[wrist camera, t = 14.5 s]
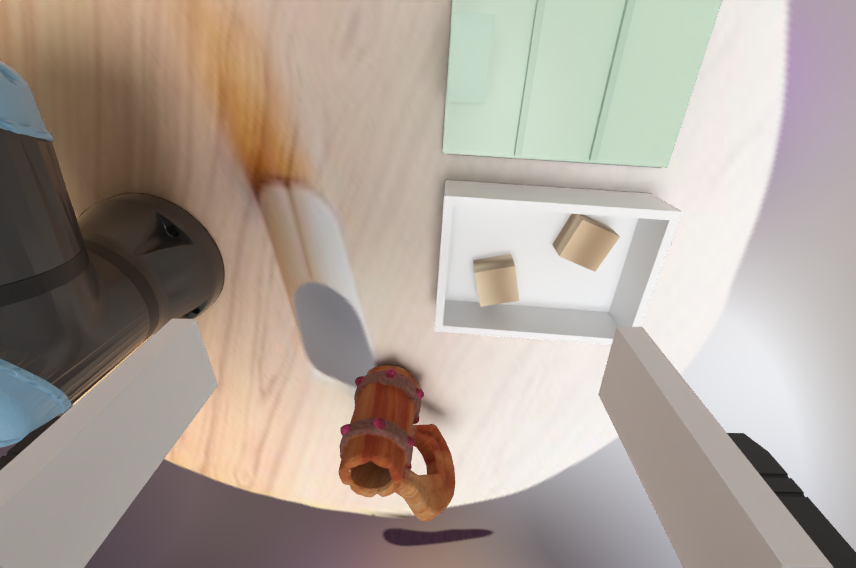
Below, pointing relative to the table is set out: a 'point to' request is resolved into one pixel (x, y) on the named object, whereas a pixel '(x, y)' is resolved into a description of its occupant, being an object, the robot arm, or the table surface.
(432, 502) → the mug
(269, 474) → the table surface
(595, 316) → the tub
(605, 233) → the part
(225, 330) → the table surface
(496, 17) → the lid
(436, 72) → the table surface
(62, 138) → the table surface
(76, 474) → the robot arm
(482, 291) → the part
